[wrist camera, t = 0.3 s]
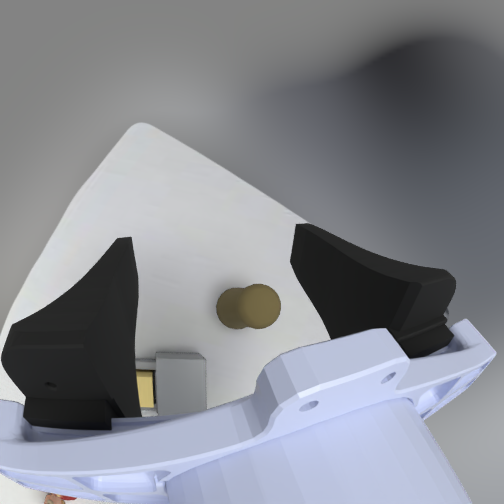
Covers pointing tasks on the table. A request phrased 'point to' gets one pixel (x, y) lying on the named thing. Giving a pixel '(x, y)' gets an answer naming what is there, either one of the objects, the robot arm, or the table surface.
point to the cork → (249, 307)
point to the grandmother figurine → (53, 500)
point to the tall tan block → (145, 387)
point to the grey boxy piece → (177, 382)
